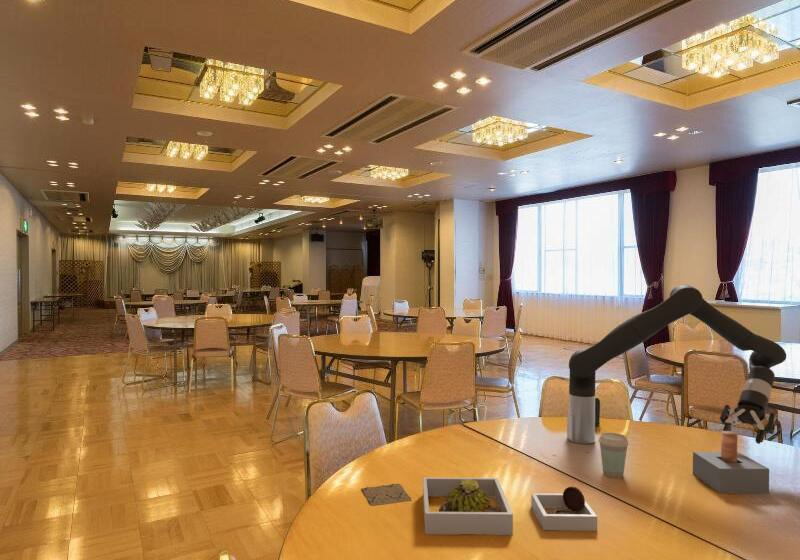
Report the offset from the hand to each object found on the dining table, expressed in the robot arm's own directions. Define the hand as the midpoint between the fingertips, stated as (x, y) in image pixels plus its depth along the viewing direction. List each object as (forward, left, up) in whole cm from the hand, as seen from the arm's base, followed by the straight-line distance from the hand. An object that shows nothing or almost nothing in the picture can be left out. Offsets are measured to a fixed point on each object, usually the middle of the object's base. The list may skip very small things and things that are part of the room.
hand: (741, 438), depth 162 cm
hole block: (-7, -6, -11) cm, 15 cm away
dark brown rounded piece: (-62, -30, -12) cm, 69 cm away
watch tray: (-63, -29, -11) cm, 70 cm away
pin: (-7, -6, -10) cm, 14 cm away
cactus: (-87, -28, -12) cm, 92 cm away
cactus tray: (-88, -27, -11) cm, 93 cm away
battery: (-28, +53, -12) cm, 61 cm away
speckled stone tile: (-109, -16, -12) cm, 111 cm away
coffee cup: (-39, 0, -12) cm, 41 cm away
